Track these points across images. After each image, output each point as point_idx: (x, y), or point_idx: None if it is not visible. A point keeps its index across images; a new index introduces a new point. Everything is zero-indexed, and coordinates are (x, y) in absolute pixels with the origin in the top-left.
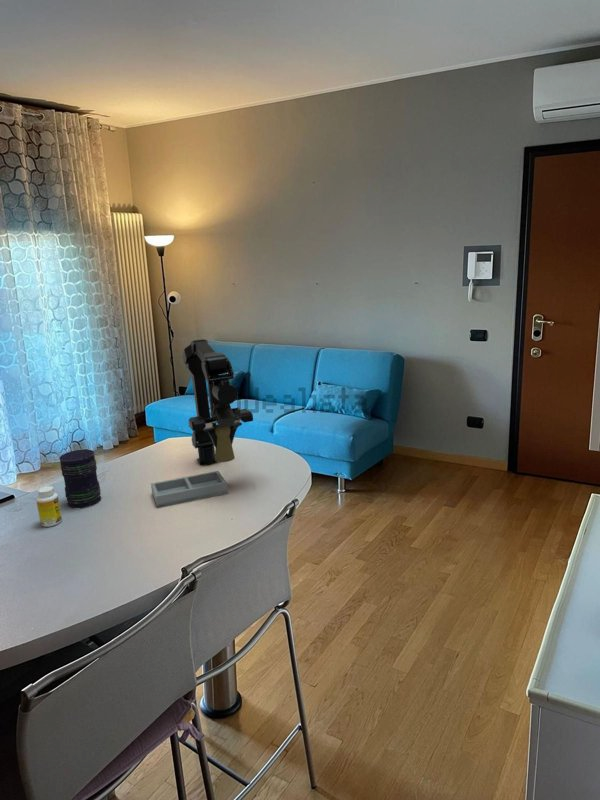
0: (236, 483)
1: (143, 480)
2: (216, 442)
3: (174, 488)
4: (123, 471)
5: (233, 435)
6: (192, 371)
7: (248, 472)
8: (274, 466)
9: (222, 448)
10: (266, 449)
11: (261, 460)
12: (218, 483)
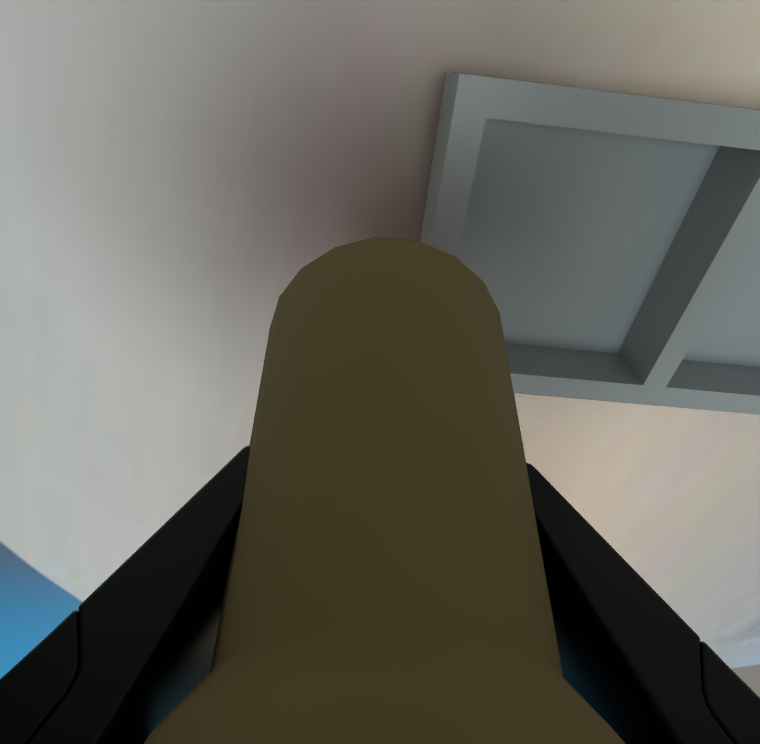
0: (317, 238)
1: (698, 530)
2: (553, 539)
3: (710, 354)
4: (685, 620)
5: (108, 606)
6: None
7: (198, 362)
8: (18, 359)
9: (462, 377)
10: (67, 552)
11: (100, 465)
12: (537, 107)
